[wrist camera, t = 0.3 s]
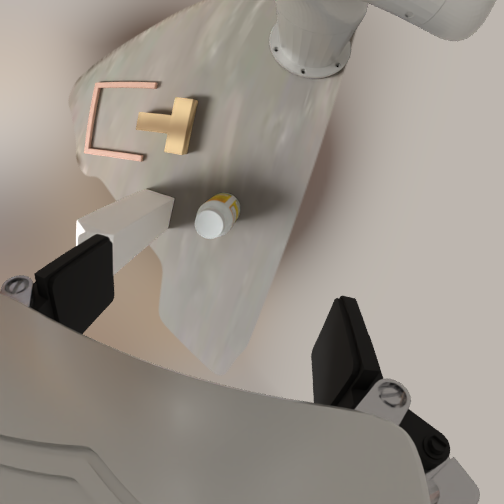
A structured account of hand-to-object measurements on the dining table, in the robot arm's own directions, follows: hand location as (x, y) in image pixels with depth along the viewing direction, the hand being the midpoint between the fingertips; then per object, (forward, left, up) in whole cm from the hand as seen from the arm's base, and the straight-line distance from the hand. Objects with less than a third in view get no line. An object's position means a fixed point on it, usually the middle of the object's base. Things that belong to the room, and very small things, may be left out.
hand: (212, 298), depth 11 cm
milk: (+9, -18, -35) cm, 40 cm away
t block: (-6, -18, -35) cm, 40 cm away
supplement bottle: (+6, -6, -35) cm, 36 cm away
